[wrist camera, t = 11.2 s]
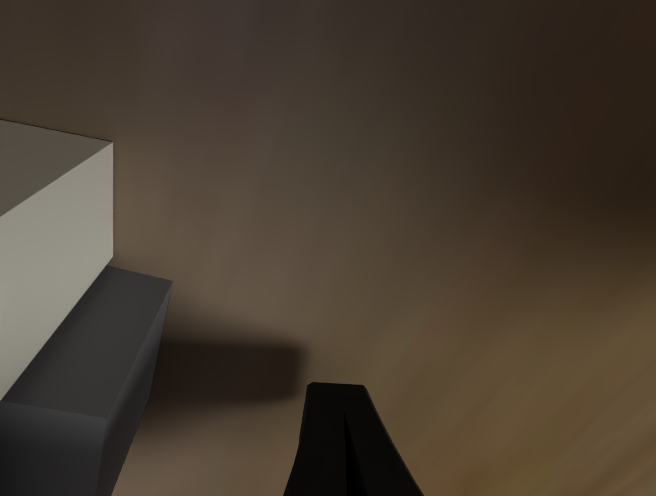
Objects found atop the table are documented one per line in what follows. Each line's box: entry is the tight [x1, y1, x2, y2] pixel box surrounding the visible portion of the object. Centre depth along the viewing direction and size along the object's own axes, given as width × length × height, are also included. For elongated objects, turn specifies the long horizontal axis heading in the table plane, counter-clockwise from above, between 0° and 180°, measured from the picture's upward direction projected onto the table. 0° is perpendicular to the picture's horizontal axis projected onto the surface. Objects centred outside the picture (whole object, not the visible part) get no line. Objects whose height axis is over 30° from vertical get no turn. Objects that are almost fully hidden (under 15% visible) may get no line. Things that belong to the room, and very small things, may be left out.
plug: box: [0, 266, 173, 496], centre depth 9 cm, size 5×4×4 cm
